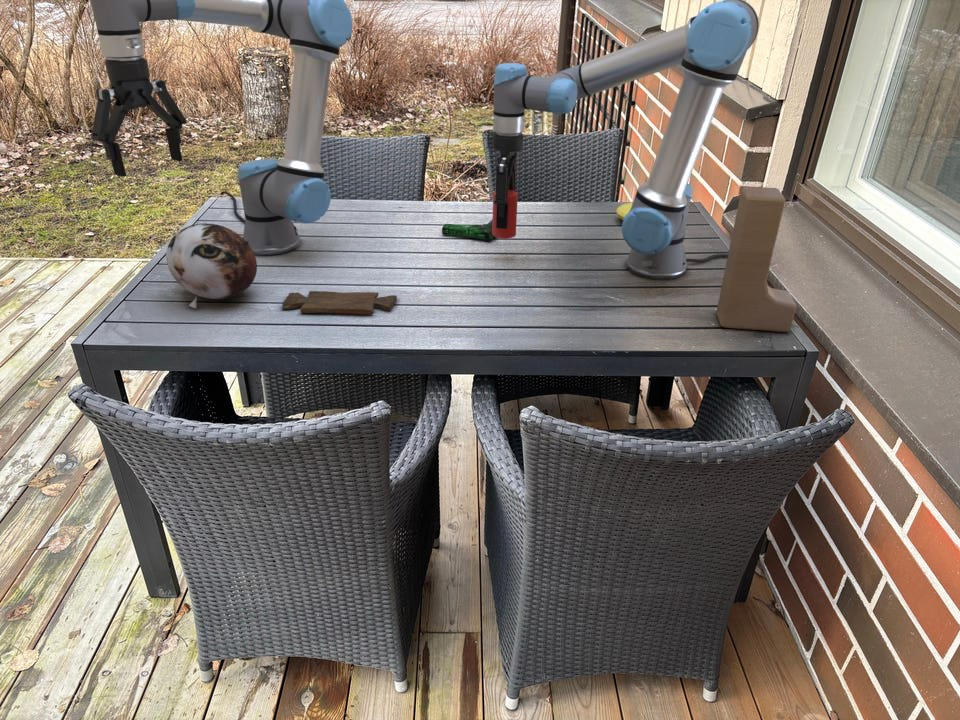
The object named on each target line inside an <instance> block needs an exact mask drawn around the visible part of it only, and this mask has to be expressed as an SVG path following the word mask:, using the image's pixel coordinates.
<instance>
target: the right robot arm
mask: <svg viewBox="0 0 960 720" xmlns="http://www.w3.org/2000/svg"><path fill="white" fill-rule="evenodd" d="M759 28H760V23H759V17H758V14H757V11H756V10H755V8H754V7H753V6H752V5H751V4H750V3H748V1H746V0H720V1H717V2H713V3H710V4H709V5H707V6H705V7H704V8H703V9H701V10H700V12H699V13H698V14H697V15H694V16H693V17H690V18H689V19H688V21H687V23H686V24H684V25H682V26H679V27H675V28H674V29H671V30H668V31H665V32H663V33H661V34H657V35H655V36H653V37H650V38H647V39H643V40H642V41H639V42H636V43H634V44H631V45H628V46H626V47H623V48H620V49H617V50H615V51H612V52H610V53H607V54H604V55H602V56H601V55H600V56H598V57H596V58H593V59H591V60H588V61H585V62H583V63H581V64H577V65H574V66H570V67H567V68H565V69H563V70H561V71H559V72H557V73H554V74H552V75H549V76H541V75H540V76H539V75H531V74H528V68H527V66H526V64H522V63H516V62H506V63H505V62H504V63H500V64H497V65H496V67H495V69H494V78H493V111H492V112H493V114H492V115H493V116H492V117H491V118H490V121H491V122H493V123H492V130H493V133H492V139H491V140H492V144H491V145H492V149H493V150H495V151H498V152H499V153H500V154H499V156H497V163H496V165H495V167H496V179H495V191H496V197H495V201H494V204H497V219H496V228H501V229H507V220H508V203H507V198H508V190H513V191H516V192H517V193H518V190H517V183H516V182H517V157H518V152H520V151H522V150H523V148H524V134H523V133H524V131H525V117H526V115H525V113H526V111H525V110H528V111H530V110H531V111H536V112H544V113H550V114H551V113H552V114H554V115H555V114H556V115H558V114H565V115H568V114H570V113H572V112H573V110H574V108H575V106H576V104H577V101H579V100H581V99H584V98H588V97H590V96H592V95H595V94H598V93H601V92H604V91H607V90H610V89H613V88H615V87H619V86H621V85H625V84H628V83H630V82H634V81H637V80H639V79H642V78H645V77H649V76H651V75H654V74H657V73H660V72H663V71H666V70H668V69H671V68H675V67H677V66H680V68H681V71H682V72H683V78H682V82H681V85H680V87H679V90H678V93H677V96H676V98H675V102H674V104H673V108H672V110H671V113H670V116H669V119H668V122H667V125H666V127H665V130H664V133H663V135H662V139H661V141H660V144H659V147H658V150H657V153H656V156H655V159H654V161H653V163H652V167H651V170H650V173H649V176H648V178H647V180H646V181H645V182H643V183H642V184H640V185H639V186H638V187H637V189H636V193H635V196H634V198H633V201H632V203H633V204H632V207H631V209H630V212H629V213H627V214H626V216H625V218H624V220H622V224H621V234H622V238H623V240H624V242H625V244H626V245H627V246H628V247H629V248H630V249H631V250H630V252H629V254H628V255H627V258H626V265H625V266H626V269H628V271H629V272H631V273H632V274H634V275H636V276H638V277H641V278H646V279H651V280H657V281H658V280H659V281H668V280H675V279H679V278H681V277H683V276H684V275H685V274H686V273H687V268H688V267H687V266H688V264H687V263H706V262H708V261H710V260H712V259H715V258H728V253H716V254H712V255H708V257H705V258H687V257H686V251H685V245H684V240H685V235H686V228H687V224H688V223H687V222H688V217H689V211H690V205H691V200H692V199H693V196H692V192H693V188H692V186H691V185H690V184H689V180H690V177H691V175H692V173H693V170H694V168H695V165H696V163H697V160H698V157H699V154H700V153H701V150H702V147H703V145H704V141H705V140H706V137H707V134H708V131H709V129H710V127H711V123H712V121H713V118H714V115H715V113H716V110H717V108H718V105H719V103H720V100H721V97H722V95H723V93H724V90H725V88H726V87H727V86H729V85H731V84H733V83H735V82H736V80H737V77H738V74H739V73H740V70H741V67H742V64H743V63H744V60H745V57H746V54H747V52H748V50H749V49H750V48H751V47H752V46H753V44H754V43H755V41H756V39H757V36H758V33H759Z"/></svg>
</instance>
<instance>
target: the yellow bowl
mask: <svg viewBox="0 0 960 720" xmlns="http://www.w3.org/2000/svg"><path fill="white" fill-rule="evenodd" d="M632 204H633V202H628V203H624V204H621V205H620V206H618V208H616V216H617V217H618V218H619V219H620V220H622V221H623V220H624V218H625V216H626V214H627V213H629V212H630V209H631V207H632Z"/></svg>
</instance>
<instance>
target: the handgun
mask: <svg viewBox="0 0 960 720" xmlns="http://www.w3.org/2000/svg"><path fill="white" fill-rule="evenodd" d="M492 219H493V217H492ZM492 219H491V220H490V221H489V222H488V223H483V224H482V225H479V224H472V225H459V224H453V223H445V224H443V226H442V227H441V235H446V236H454V237H462V238H469V239H470V238H471V239H474V240H479V241H484V242H491V241H492V240H494V239H495V238H496V237H494V236H493V235H492Z"/></svg>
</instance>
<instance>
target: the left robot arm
mask: <svg viewBox="0 0 960 720" xmlns="http://www.w3.org/2000/svg"><path fill="white" fill-rule="evenodd" d="M89 2H90V6H91V10H92V13H93V18H94V22H95V25H96V30H97V35H98V40H99V45H100V49H101V54H102V56H103V57H105V61H104V65H105V69H106V70H105V71H106V74H107V78H108V80H109V82H110V88H101V87H97V88H96V90H95V93H96V99H97V100H96V101H97V102H96V108H95V113H94V119H93V124H92V131H91V136H90V138H91V140H92V141H94V142H99V143H102V145H103V149H104V151H105V152H104V153H105V157H106V158H107V160H109V161H111V166H112V169H113V174H114V175H115V176H118V177H119V176H120V177H122V178H123V177H127V172H126V169H125V164H124V161H123V155H122V151H121V148H120V144H119V142H116V138H117V136H118V133H119V131H120V129H121V127H122V124H123V122H124V119H125V117H126V116H127V114H128V113H129V112H130V110H137V109H139V108H148V109H149V110H150V111H151V112H152V113H154V114H155V116H157V118H158V119H160V120H161V121H162V122H163V123H164V124H165V125H166V126H167V127H166V128H164V130H165V135H166V140H167V146H168V151H169V155H170V159H171V161H176V162H183V161H184V160H183V156H182V150H181V146H180V144H182V137H181V132H180V130H181V129H183V125H185V124H186V123H187V119H186V117H185V116H184V114H183V112H182V111H181V110H180V108H179V106H178V105H177V103H176V102H175V100H174V99H173V97H172V96H171V94H170V93H169V91H168V88H167V85H166V82H165V80H163V79H159V78H158V79H157V78H154V79H152V81H151V80H150V77H151V74H150V68H149V64H148V59H146V57H144V56H145V55H146V49H145V45H144V41H143V35H142V30H141V25H140V24H141V23H146V22H158V21H183V22H193V23H194V22H195V23H204V24H205V23H206V24H215V25H223V26H235V27H243V28H244V27H245V28H248V30H250V31H252V32H253V33H258V34H259V33H261V34H267V35H271V36H275V37H278V38H282V39H285V40H289V45H288V46H289V48H290V50H291V51H292V52H293V54H294V61H293V69H292V70H293V71H292V80H291V90H290V99H289V109H288V110H289V111H288V118H287V127H286V137H285V138H286V139H285V146H284V156H283V157H282V158H281V159H280V158H263V159H255V160H252V161H251V160H250V161H247V162H244V163H242V164H241V165H239V166H238V168H237V177H238V179H237V181H238V184H239V190H240V196H241V201H242V208H243V212H244V213H243V215H244V218H243V217H242V216H241V215H240V214H239V213H238V209H237V208H238V207H237V199H236V197H235V196H234V195H232V194H231V193H230V192H228V191H225V190H222V191H221V192H220V193H219V195H220V196H223V195H224V194H225V195H227V196H228V197H229V198H231V199H232V198H233V199H232V201H233V202H232V203H233V212H234V215H235V216H236V218H237V219H238V220H240V221H241V222H242V223H244V226H243V228H244V229H243V235H242V237H243V238H244V239H245V240H246V241H249V242H248V244H249V245H250V247H251V248H252V250H253V252H254V254H255V256H256V255H257V256H275V255H281V254H282V255H283V254H285V253H289V252H291V251H293V250H296V249H297V248H298V247H299V246H300V244H301V241H300V235H299V233H298V232H299V231H298V228H297V226H296V225H294V223H293V222H295V223H302V224H313V223H315V222H317V221H319V220H320V219H321V217H324V215H325V214H326V213H327V211H328V209H329V207H330V204H331V200H332V193H331V189H330V188H329V185H328V184H327V182H325V181H324V178H325V177H324V176H325V169H324V168H323V167H322V166H321V164H320V159H321V153H322V142H323V136H324V128H325V127H324V126H325V118H326V110H327V103H328V101H327V100H328V93H329V84H330V76H331V70H332V69H331V68H332V63H333V62H334V61H335V60H336V59H338V58H339V55H340V48H341V47H343V46H344V45H346V44H347V41H349V40H350V38H351V36H352V33H353V17H352V13H351V11H350V8H349V7H348V5H347V2H346V0H89ZM153 92H155V94H156V96H157V97H158V99H159V101H160V102H161V103H162V105H163V106H164V107H165V109H164V108H163V106H162V105H160V103H159V101H158V100H156V99H155V98H154V97H153V96H152V93H153ZM113 99H114V102H113V105H112V100H113ZM111 106H112V107H111ZM111 108H112V111H111ZM110 112H111V113H110Z"/></svg>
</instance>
